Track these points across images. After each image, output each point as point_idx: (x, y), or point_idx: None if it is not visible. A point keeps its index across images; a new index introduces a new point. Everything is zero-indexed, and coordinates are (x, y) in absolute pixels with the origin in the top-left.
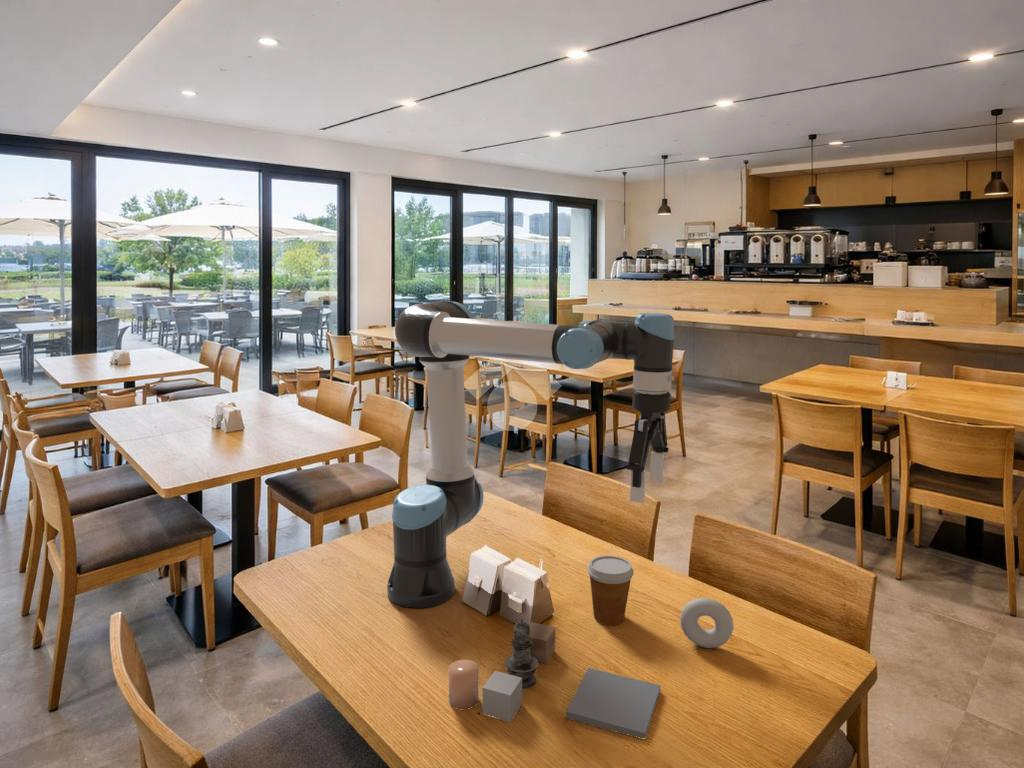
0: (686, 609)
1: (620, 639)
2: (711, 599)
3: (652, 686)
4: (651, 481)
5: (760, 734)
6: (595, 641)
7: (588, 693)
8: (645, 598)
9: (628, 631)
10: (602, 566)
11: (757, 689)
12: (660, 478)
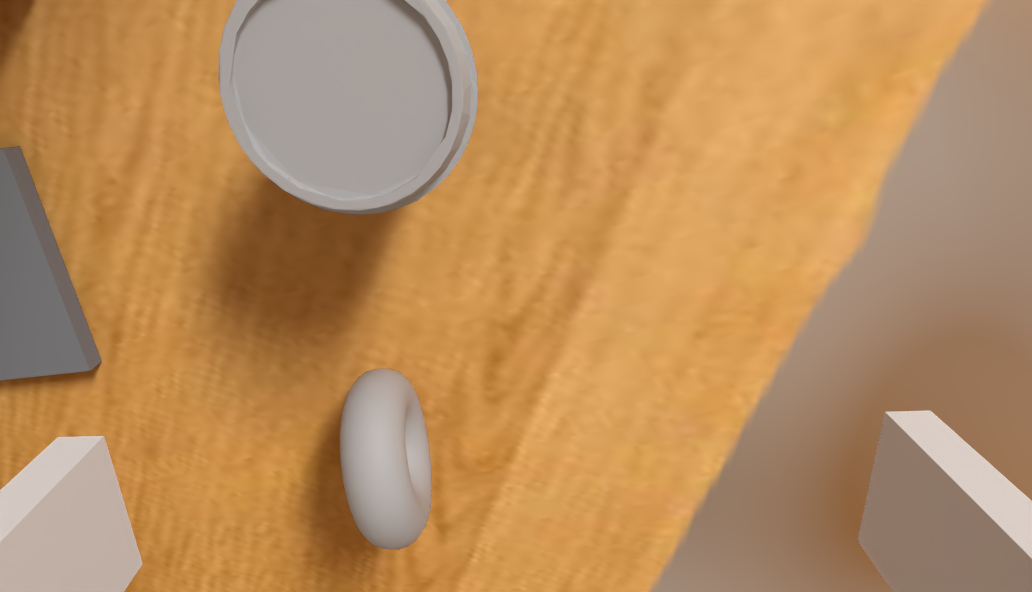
0: (345, 426)
1: None
2: (381, 524)
3: (67, 354)
4: (882, 435)
5: None
6: (207, 91)
7: None
8: (612, 154)
9: None
10: (311, 50)
11: (282, 549)
12: (890, 570)
